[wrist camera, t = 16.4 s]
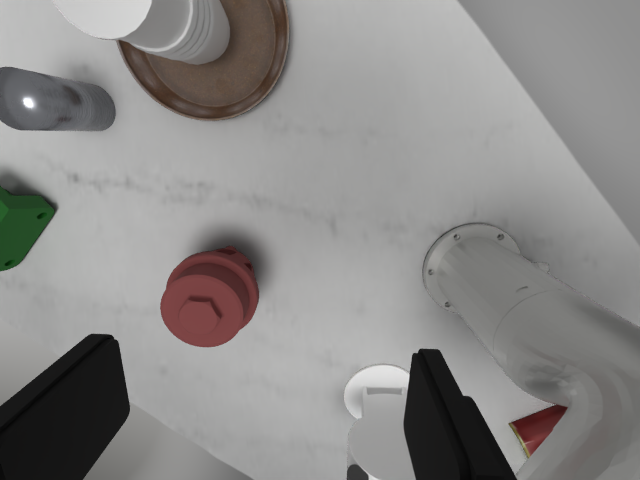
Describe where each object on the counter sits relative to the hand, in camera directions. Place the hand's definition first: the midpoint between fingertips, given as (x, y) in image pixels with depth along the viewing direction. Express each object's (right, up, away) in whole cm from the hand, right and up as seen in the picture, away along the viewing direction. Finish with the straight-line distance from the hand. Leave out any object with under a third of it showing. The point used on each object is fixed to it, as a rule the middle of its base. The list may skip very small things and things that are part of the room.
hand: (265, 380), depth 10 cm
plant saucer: (-10, +27, +25) cm, 38 cm away
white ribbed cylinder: (-10, +26, +22) cm, 35 cm away
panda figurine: (+11, -19, +40) cm, 46 cm away
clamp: (-37, +7, +31) cm, 49 cm away
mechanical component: (-10, +1, +33) cm, 35 cm away
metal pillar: (-24, +20, +27) cm, 41 cm away
